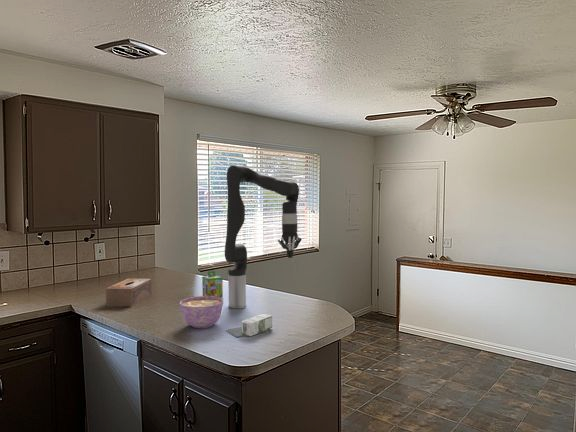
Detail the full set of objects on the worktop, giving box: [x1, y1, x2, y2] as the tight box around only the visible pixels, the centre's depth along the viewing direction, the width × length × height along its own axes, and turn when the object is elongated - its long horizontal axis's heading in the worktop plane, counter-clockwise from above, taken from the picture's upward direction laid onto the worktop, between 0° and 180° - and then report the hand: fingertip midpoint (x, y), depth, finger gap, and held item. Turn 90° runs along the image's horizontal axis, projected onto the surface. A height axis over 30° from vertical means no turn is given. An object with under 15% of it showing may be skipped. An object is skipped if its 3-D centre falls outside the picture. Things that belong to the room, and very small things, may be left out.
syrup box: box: [241, 313, 273, 337], centre depth 201 cm, size 6×6×14 cm
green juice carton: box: [201, 270, 224, 298], centre depth 265 cm, size 9×9×15 cm
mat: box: [225, 326, 270, 338], centre depth 202 cm, size 11×16×1 cm
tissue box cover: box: [105, 278, 153, 307], centre depth 258 cm, size 26×14×10 cm, turn 173°
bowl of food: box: [179, 295, 224, 330], centre depth 210 cm, size 20×20×12 cm
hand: (289, 257), depth 224 cm, fingers closed
